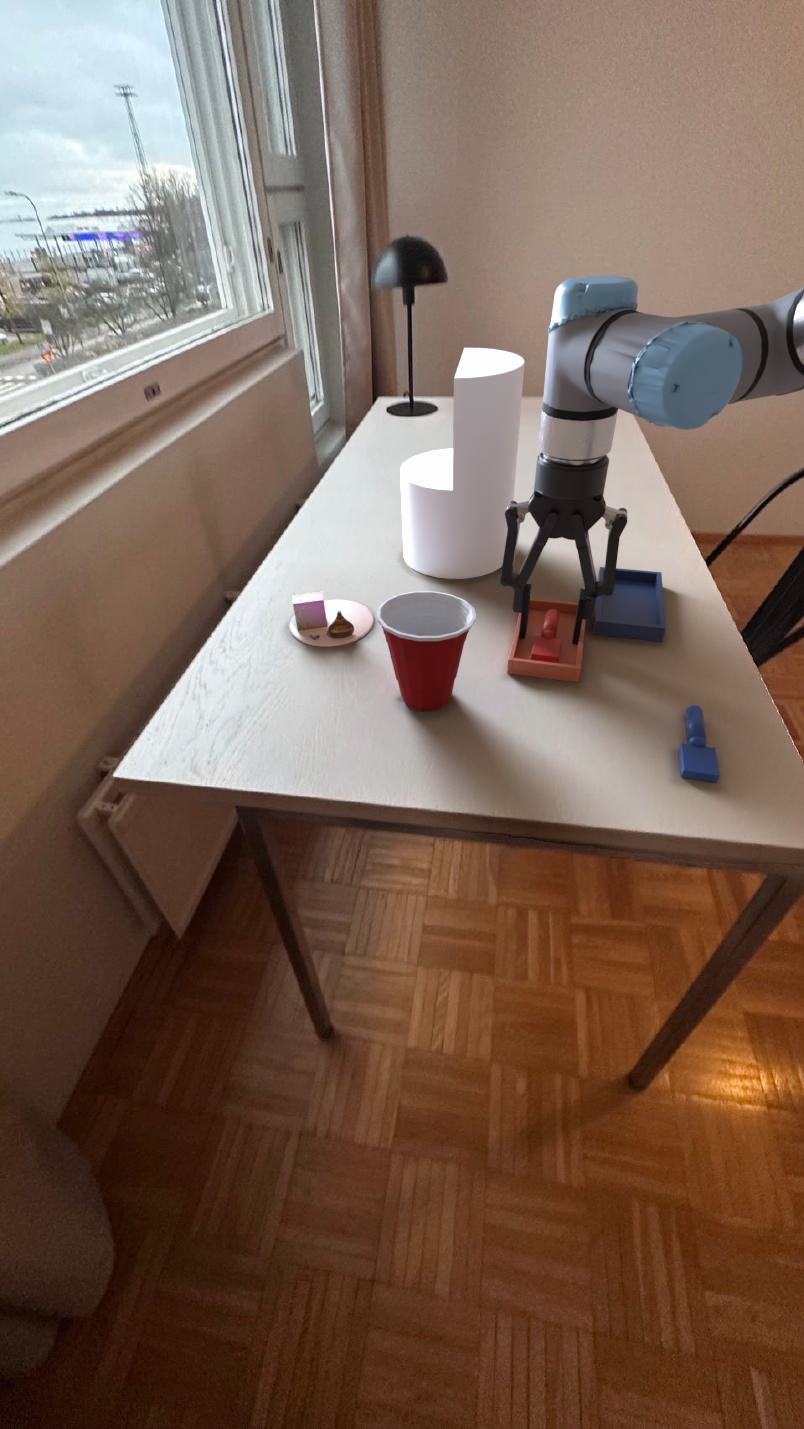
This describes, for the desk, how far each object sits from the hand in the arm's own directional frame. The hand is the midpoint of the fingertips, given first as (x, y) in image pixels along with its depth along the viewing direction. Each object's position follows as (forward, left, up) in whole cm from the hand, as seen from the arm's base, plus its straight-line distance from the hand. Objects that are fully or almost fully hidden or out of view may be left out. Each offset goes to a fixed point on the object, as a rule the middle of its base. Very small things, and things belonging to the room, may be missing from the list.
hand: (549, 635), depth 82 cm
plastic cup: (+13, +14, -2) cm, 19 cm away
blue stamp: (-17, +16, -1) cm, 23 cm away
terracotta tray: (0, 0, -1) cm, 1 cm away
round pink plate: (+30, +1, -2) cm, 30 cm away
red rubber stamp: (0, 0, -1) cm, 1 cm away
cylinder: (+17, -23, -2) cm, 29 cm away
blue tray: (-10, -11, -1) cm, 15 cm away
